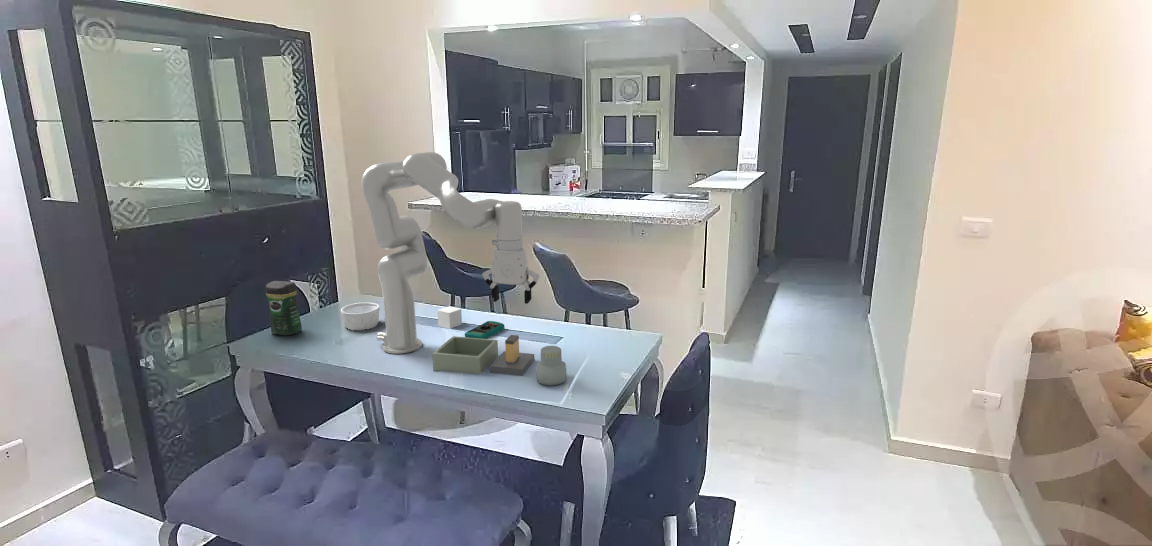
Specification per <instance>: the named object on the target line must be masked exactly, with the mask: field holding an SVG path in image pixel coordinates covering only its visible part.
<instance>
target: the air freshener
mask: <svg viewBox="0 0 1152 546" xmlns="http://www.w3.org/2000/svg"><path fill="white" fill-rule="evenodd" d="M567 375H568V374H567V365H566V362H565V361H563V359H562V348H561V347H559V346H557V345H545V346H543V347H542V348H541V349H540V361H538V362H537V363H536V381H537V383H539V384H541V385H543V386H548V387H549V386H550V387H551V386H558V385H561V384H564V383H565V382H566V381H567V377H568V376H567Z"/></svg>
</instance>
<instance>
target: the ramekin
mask: <svg viewBox="0 0 1152 546" xmlns="http://www.w3.org/2000/svg"><path fill="white" fill-rule="evenodd" d="M340 314H341V317H342V321H343V325H344V327H345V328H346V329H347V328H348V329H347V330H349V329H351V330H350V331H354V330H360V331H366V330H365V329H367V330H370V328H371V329H373V328H376V326H377V325H378V324H379V317H380V305H379V304H378V303H375V302H356V303H350V304H347V305H344V306H342V308H341V309H340Z"/></svg>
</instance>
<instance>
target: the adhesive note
mask: <svg viewBox="0 0 1152 546" xmlns="http://www.w3.org/2000/svg"><path fill="white" fill-rule="evenodd" d="M462 318H463V317H462V308H460V307H455V306H450V305H448V306H446V307H443V308H439V309H437V324H438V326H437V327H442V328H446V329H453V328H455V327H458V326H462V325H463V319H462Z"/></svg>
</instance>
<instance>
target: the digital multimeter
mask: <svg viewBox="0 0 1152 546" xmlns="http://www.w3.org/2000/svg"><path fill="white" fill-rule="evenodd" d="M504 330H505V324H504V323H502V322H499V321H497V320H496V321H494V320H487V321H485V322H483V323H482V324H479V325H478V326H476V327H473V328H472V329H469V330H467V331H466V332H465V333H464V337H468V338H480V339H489V338H491V337H493V336H495V335H496V334H498V333H500V332H502V331H504Z"/></svg>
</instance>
